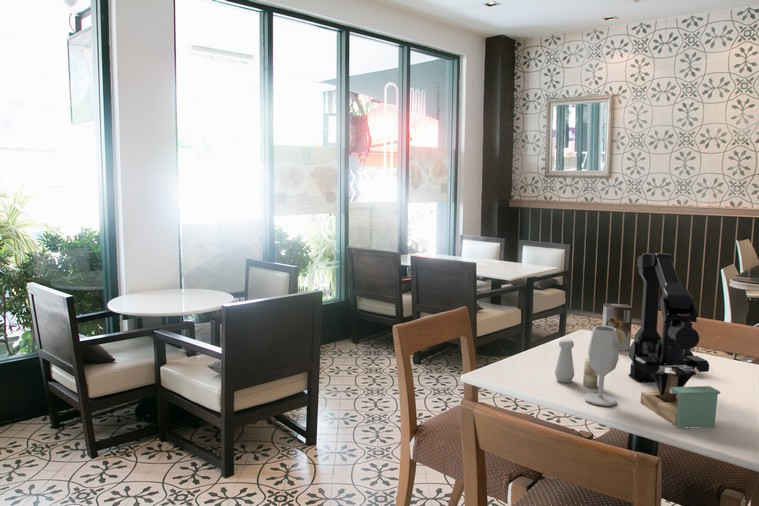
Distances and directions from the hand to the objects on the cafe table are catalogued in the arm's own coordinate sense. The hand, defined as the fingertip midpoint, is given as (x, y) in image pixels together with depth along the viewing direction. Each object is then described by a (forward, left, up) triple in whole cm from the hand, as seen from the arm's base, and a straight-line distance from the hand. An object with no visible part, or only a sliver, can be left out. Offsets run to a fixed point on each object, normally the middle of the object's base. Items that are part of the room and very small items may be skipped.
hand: (668, 394), depth 165 cm
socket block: (0, +3, -4) cm, 5 cm away
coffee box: (-16, -58, -4) cm, 60 cm away
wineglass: (+16, -7, -4) cm, 18 cm away
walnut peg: (0, 0, -2) cm, 3 cm away
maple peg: (+13, -19, -4) cm, 23 cm away
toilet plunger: (-25, -36, -4) cm, 44 cm away
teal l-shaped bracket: (0, +11, -4) cm, 11 cm away
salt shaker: (+19, -24, -4) cm, 31 cm away
